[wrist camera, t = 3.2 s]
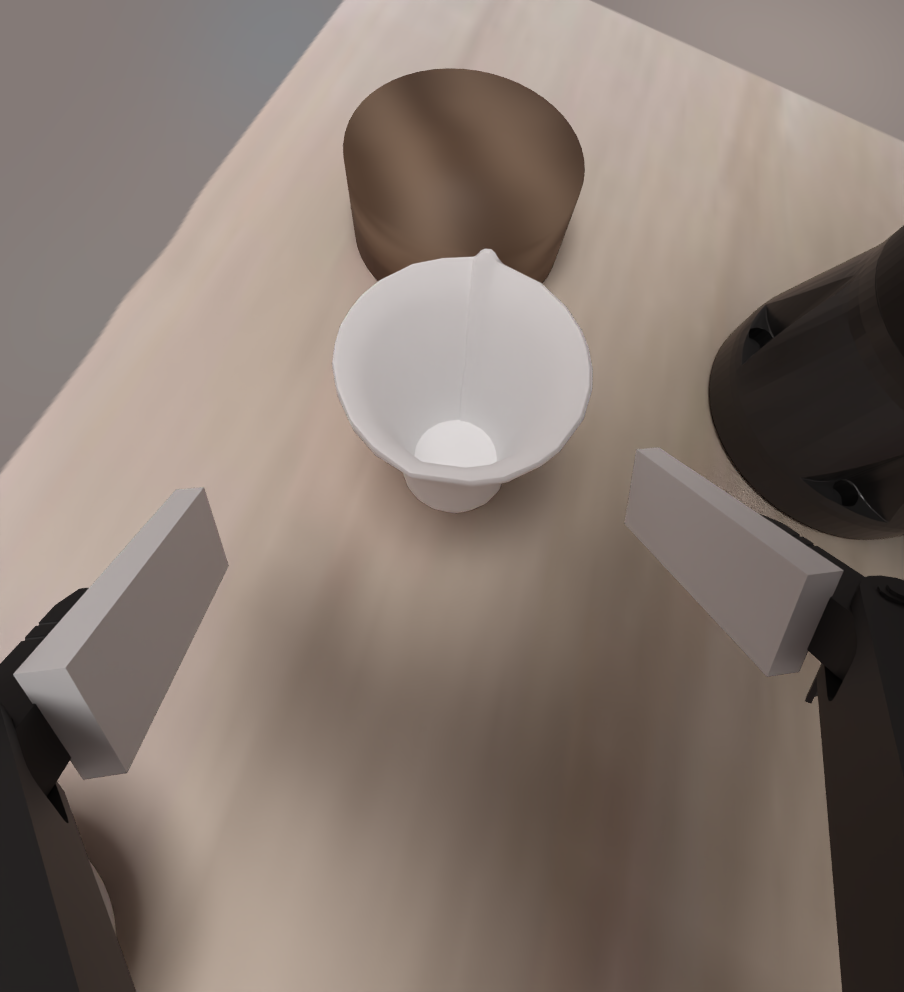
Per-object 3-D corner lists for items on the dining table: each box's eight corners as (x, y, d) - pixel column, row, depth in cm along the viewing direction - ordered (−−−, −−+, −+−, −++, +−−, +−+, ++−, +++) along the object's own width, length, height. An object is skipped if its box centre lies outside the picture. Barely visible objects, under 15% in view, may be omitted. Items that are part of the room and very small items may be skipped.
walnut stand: (520, 143, 32) (538, 58, 27) (586, 294, 29) (620, 226, 24) (335, 169, 30) (320, 81, 25) (382, 334, 27) (375, 268, 22)
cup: (542, 407, 26) (616, 275, 17) (508, 565, 23) (573, 515, 14) (392, 367, 26) (379, 213, 17) (340, 519, 23) (289, 439, 14)
